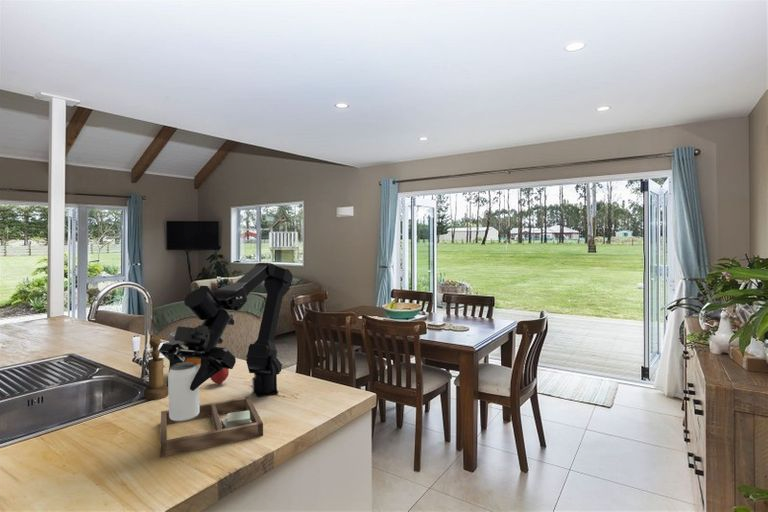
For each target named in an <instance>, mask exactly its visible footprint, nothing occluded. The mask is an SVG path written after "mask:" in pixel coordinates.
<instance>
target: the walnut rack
mask: <svg viewBox="0 0 768 512" xmlns="http://www.w3.org/2000/svg"><path fill="white" fill-rule="evenodd" d="M199 406H200V412H199V414H198V416H197V417H195V418H193V419H192V420H195V419H202V418H207V417H211V420H212V424H213V427H214V430H210V431H206V432H205V431H204V432H201V433H196V434H190V435H185V436H180V437H175V438H170V439H169V438H168V435H167V434H168V433H167V431H168V429H167V428H168V427H167V425H168V424H172V423H177V422H176V421H172V420H171V419H170V418H169V409H168V410H162V411H160V438H159V441H160V442H159V443H160V444H159V447H160V448H159V449H160V451H159V453H160V457H161V458H162V457H167V456H172V455H176V454H180V453H185V452H190V451H191V452H192V451H195V450H201V449H205V448H209V447H214V446H219V445H224V444H229V443H233V442H238V441H241V440H242V441H243V440H248V439H252V438H256V437H261V436H263V435H264V423H263V421H262V420H263V419H261V417H260V414H259V413H258V411H257V409H256V406H255V405H254V403H253V401H252V399H251V397H250V396H246V397H241V398H240V397H238V398H233V399H228V400H221V401H217V402H210V403H204V404H199ZM248 410H250V420H251V421H252V423H250V424H245V425H240V426H235V427H230V428H225V429H222V425H221V419H220V416H219V415H222V414H228V413H233V412H241V411H248Z"/></svg>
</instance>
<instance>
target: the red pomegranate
mask: <svg viewBox="0 0 768 512" xmlns="http://www.w3.org/2000/svg"><path fill="white" fill-rule="evenodd" d="M229 370H230V369H225V368H223V370H222V371H219V372H217V373H216V374H214V375H213V376H212V377H210V378H209V379H210V381H212V382H213V383H215V384H217V385H221V384H222V383H223V382H225V380H226V379H228V376H229Z"/></svg>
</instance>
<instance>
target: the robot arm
mask: <svg viewBox="0 0 768 512" xmlns="http://www.w3.org/2000/svg"><path fill="white" fill-rule="evenodd" d="M293 278H294V277H293V273H292V272H291V271H290V270H289V269H288V268H284V267H280V266H278V265H275V264H274V263H272V262H257V263H255V265H254V267H253V268H251V269H250V270H249V271H248V272H247V273H245V274H244V275H242V277H241V278H239V279H237V281H235V282H233V283H230V284H226V285H223V286H222V287H219V288H217V289H216V290H214V292H212V290H211V289H210V287H209V286H208V285H200V286H199V288H197V289H195V290H193V291H191V292H190V293H188V294H187V295H186V296H185V298H184V301H183V302H184V306H185V307H186V308H187V309H188V310H189V311H190V312H191V313H192V314H193V315H194V316H195V318H197V319H198V320H200V321H202V322H201V324H200V325H199V324H198V326H196V327H188V326H177V327H176V333H175V336H174V340H176V341H177V340H179V341H183V342H184V343H183V345H184V346H186V347H188V350H186V349H184V348H182V347H181V346H180V345H179V344H178V343H169V341H168V342H163V343H162V345H161V346H160V348H158V350H159V352H160V355H162V356H164V357H165V358H166V359H167V360H168V362H169V367H168V373H169V371H170V366H172V365H174V364H178V363H183V362H185V361H186V360H187V358H193V359H201V365H200V368H199V370H198V372H197V374H196V376H195V378H194V379H193V381H192V384H191V386H190V390H191V391H194V390H195V389H196V388H197V387H199V388H200V386H201V385H202V384H204V383H205V382H207V380H209V379H211V378H210V377H212V376H213V375H214V374H216V373H217V372H219V371H222V370H223V368H225V369H228V370H233V369H234V366H235V365H236V362H237V360H236V356H235V355H234V354H233V353H232V352H231V351H230V350H229V349H228V348H227V347H222V346H221V347H220V346H218V345H222V344H223V341H224V340H223V339H222V336H223V334H224V332H225V330H226V329H227V327H228V326H234V325H235V320H234V318H233V314H230V313H228V311H229V312H230V311H232V312H237V311H240V310H241V309H242V308H243V307H244V305H245V304H247V302H248V295H250V293H251V292H253V291H254V290H255V289H256V288H257V287H258V286H260V285H261V284H262V283H263V282H264V283H263V286H264V289H265V292H266V298H265V302H264V307H263V312H262V316H261V321H260V326H259V329H258V330H259V331H258V335H257V339H256V340H255V341H254V343H249V345H248V350H247V354H246V356H245V357H246V365H247V369H248V372H249V374H253V377H252V379H251V381H252V383H251V384H252V385H251V386H252V393H253V394H255V397H257V398H258V397H264V396H269V395H270V396H271V395H276V394H279V390H278V386H277V385H278V384H277V383H278V382H277V381H278V380H277V379H278V378H277V375H280V373H281V372H282V369H283V368H282V366H283V364H282V363H281V361H280V360H279V359H278V358H277V356H278V355H277V354H278V350H277V347H276V345H275V337H276V332H277V328H278V327H277V326H278V321H279V317H280V311H281V308H282V304H283V303H282V301H283V298H284V296H285V295H287V293H288V292H289V290H290V288H291V284H292V282H293ZM165 385H166V386H167V387H168V377H167V379H166V382H165Z"/></svg>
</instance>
